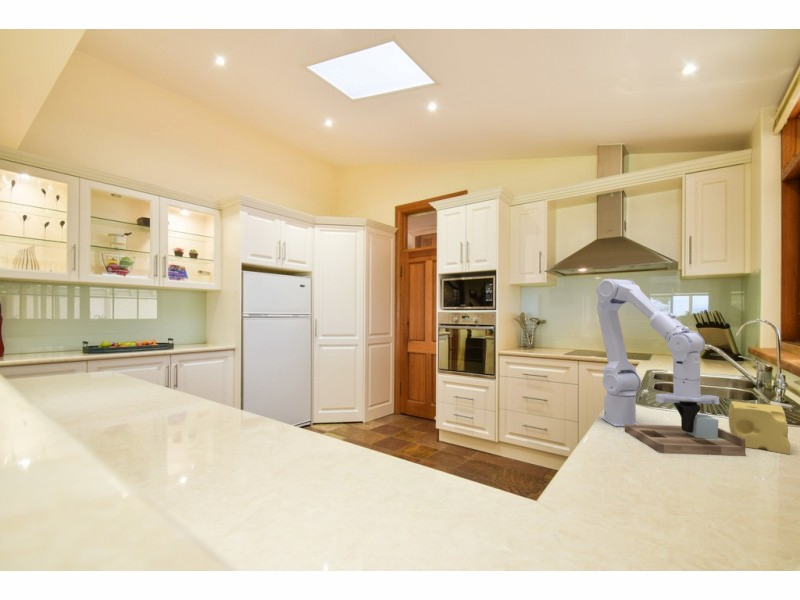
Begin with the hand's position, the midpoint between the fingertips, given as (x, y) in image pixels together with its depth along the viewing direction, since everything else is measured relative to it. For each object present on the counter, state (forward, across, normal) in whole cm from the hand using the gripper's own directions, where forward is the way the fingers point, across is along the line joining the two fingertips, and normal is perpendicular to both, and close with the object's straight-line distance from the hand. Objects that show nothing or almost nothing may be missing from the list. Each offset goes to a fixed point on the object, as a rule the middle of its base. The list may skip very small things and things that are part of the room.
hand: (687, 431), depth 101 cm
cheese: (+3, +18, +1) cm, 18 cm away
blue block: (+1, +3, 0) cm, 3 cm away
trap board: (+3, -2, 0) cm, 4 cm away
